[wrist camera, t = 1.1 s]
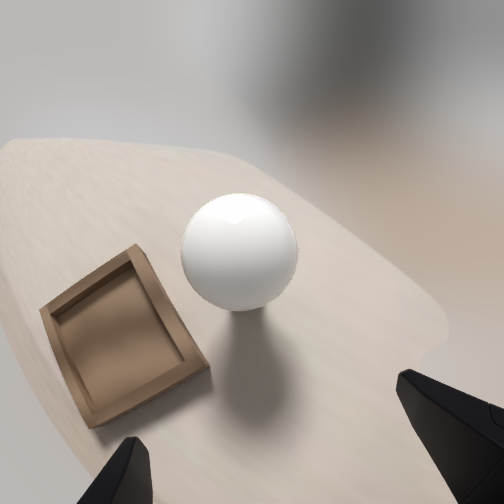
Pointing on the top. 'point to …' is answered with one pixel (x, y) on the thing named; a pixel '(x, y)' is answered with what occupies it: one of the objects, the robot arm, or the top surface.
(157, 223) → the top surface
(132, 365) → the walnut tray
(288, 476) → the top surface
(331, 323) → the top surface
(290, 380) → the top surface
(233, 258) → the lightbulb
